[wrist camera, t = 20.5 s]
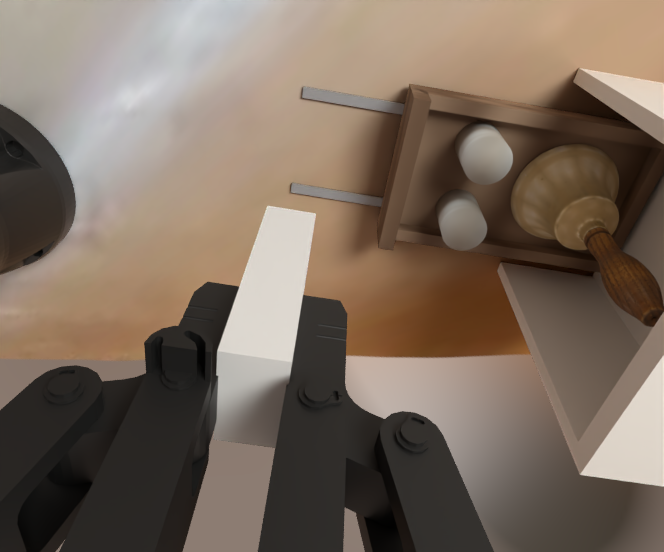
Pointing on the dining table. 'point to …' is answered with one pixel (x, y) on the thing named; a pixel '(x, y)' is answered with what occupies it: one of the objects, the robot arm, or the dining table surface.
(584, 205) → the hand bell
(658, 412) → the white upright box
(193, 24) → the dining table surface
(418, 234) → the tray
